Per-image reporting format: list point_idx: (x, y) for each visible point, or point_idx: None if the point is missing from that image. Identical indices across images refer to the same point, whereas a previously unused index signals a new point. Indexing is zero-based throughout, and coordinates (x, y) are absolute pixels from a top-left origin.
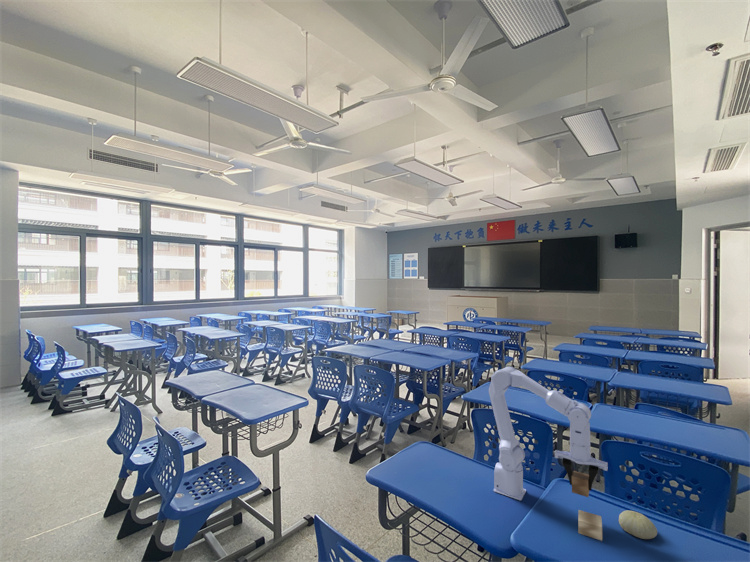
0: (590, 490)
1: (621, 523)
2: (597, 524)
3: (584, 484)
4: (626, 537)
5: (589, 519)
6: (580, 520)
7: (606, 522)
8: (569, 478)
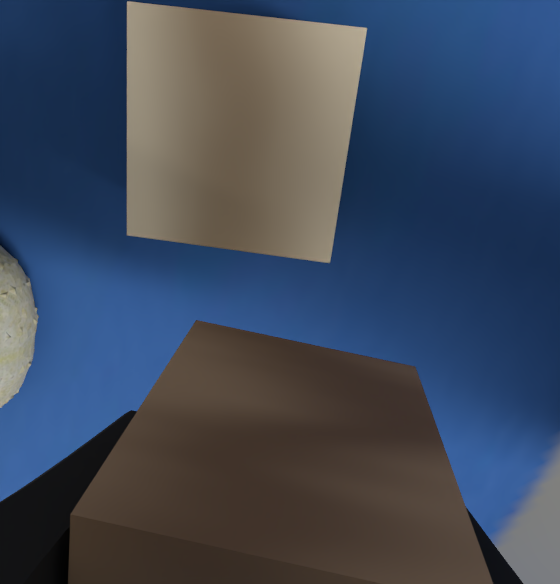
0: (135, 412)
1: (4, 277)
2: (169, 39)
3: (200, 445)
4: (7, 180)
5: (242, 111)
6: (342, 30)
7: (129, 319)
8: (506, 569)
